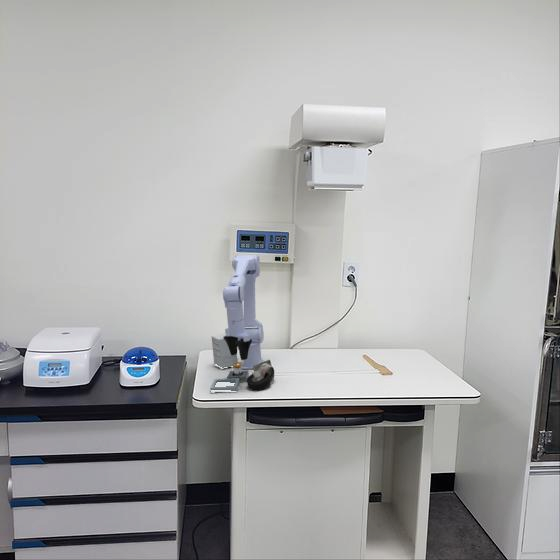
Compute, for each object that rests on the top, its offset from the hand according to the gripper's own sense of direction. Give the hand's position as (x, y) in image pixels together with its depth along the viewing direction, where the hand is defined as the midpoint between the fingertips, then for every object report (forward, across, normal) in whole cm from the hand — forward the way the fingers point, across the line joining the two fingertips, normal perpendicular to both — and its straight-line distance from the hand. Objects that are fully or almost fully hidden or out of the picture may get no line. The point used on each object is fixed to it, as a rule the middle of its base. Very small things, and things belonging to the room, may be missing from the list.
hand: (239, 357), depth 177 cm
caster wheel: (+10, +6, +5) cm, 13 cm away
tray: (+10, -1, -6) cm, 12 cm away
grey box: (+10, -23, +6) cm, 26 cm away
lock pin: (+10, -6, +2) cm, 12 cm away
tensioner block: (+10, -6, +2) cm, 12 cm away
